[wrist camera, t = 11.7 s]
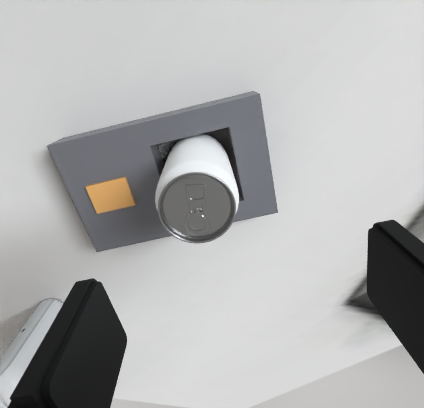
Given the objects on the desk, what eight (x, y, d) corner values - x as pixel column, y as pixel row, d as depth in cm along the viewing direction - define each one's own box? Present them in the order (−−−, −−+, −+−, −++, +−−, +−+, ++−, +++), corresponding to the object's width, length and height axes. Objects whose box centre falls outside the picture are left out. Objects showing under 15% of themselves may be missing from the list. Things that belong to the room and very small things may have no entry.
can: (170, 190, 33) (155, 249, 22) (166, 132, 30) (146, 167, 20) (227, 189, 33) (240, 247, 22) (228, 131, 31) (243, 165, 20)
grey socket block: (63, 138, 30) (44, 146, 27) (253, 91, 29) (260, 93, 26) (106, 235, 35) (95, 254, 32) (270, 199, 34) (278, 214, 30)
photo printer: (30, 306, 39) (-38, 400, 28) (54, 292, 39) (-6, 383, 27) (83, 351, 43) (41, 450, 32) (106, 339, 42) (71, 436, 31)
